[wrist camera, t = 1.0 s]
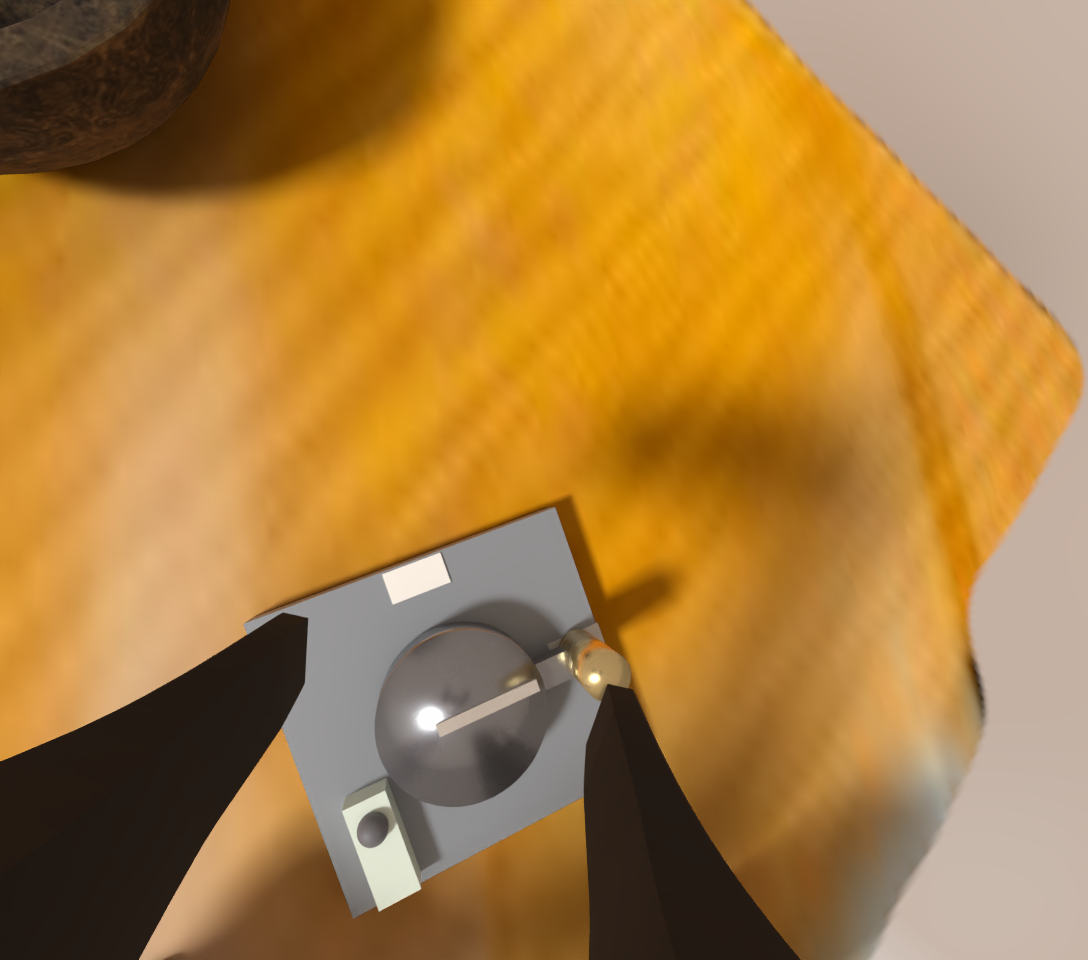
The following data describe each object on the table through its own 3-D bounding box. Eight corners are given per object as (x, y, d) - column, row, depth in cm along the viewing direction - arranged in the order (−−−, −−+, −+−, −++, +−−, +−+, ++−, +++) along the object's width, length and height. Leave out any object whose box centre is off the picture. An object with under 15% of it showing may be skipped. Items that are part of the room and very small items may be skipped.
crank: (410, 813, 25) (408, 880, 21) (354, 660, 25) (340, 694, 20) (619, 710, 28) (658, 749, 23) (571, 571, 28) (600, 583, 23)
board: (635, 750, 30) (664, 783, 26) (356, 895, 26) (347, 955, 23) (549, 506, 29) (567, 506, 26) (253, 617, 26) (227, 634, 22)
